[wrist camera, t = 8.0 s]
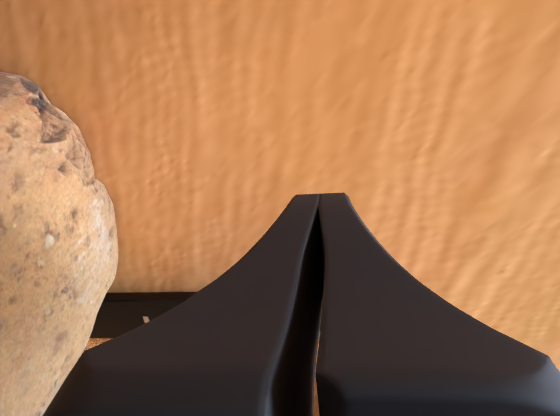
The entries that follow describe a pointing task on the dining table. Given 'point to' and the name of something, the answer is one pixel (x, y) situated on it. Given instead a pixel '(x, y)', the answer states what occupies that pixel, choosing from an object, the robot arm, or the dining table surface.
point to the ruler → (133, 311)
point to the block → (47, 247)
